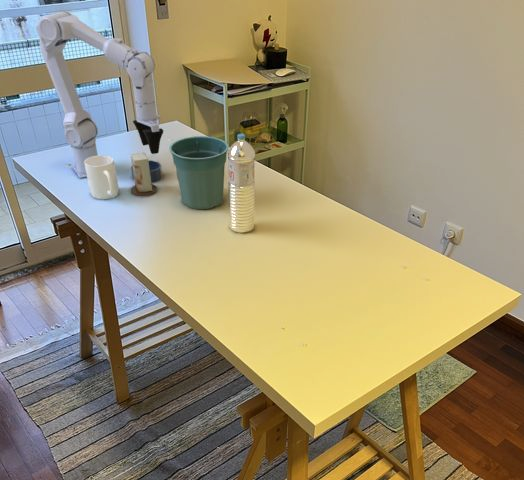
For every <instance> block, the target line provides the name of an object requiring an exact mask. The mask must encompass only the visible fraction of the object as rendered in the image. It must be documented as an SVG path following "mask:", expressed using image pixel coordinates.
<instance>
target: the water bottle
mask: <svg viewBox="0 0 524 480" xmlns="http://www.w3.org/2000/svg"><path fill="white" fill-rule="evenodd" d="M236 139H237V140H236V141H235V142H234V143H233V144H232V145H230V146H229V148H228V151H227V160H228V161H227V162H228V183H227V184H228V207H229V208H228V217H229V218H228V219H229V227H230V230H232V231H233V232H235V233H239V234H241V233H242V234H243V233H244V234H245V233H248V232H252V231H253V230H254V228H255V223H256V222H255V220H256V219H255V213H256V212H255V211H256V210H255V209H256V208H255V206H256V205H255V204H256V203H255V199H256V197H255V196H256V190H255V188H256V182H255V158H256V150H255V149H254V147H253V146H252V145H251V144H250V143H249V142H248V141H246V135H245V133H238V134H237V137H236Z"/></svg>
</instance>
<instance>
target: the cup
mask: <svg viewBox="0 0 524 480" xmlns="http://www.w3.org/2000/svg"><path fill="white" fill-rule="evenodd" d="M84 163H85V168H86V173H87V177H86V178H87V183H88V188H89V192H90V195H91V196H92V198H93V199H96V200H111V199H113V198H115V197H117V196H118V195H119V190H120V189H119V184H118V177H117V172H116V166H115V159H114V158H113V157H112V156H109V155H103V154H102V155H101V154H100V155H99V154H98V156H93V157H89V158H87V159H86V160H85V161H84Z"/></svg>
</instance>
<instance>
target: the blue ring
mask: <svg viewBox="0 0 524 480" xmlns="http://www.w3.org/2000/svg"><path fill="white" fill-rule="evenodd" d="M148 161H149V169H150V177H151V183H154V182H158V181H160V180H161V179H162V178H163V167H162V164H161V163H160V162H159V161H156V160H149V159H148ZM130 170H131V177H132V179H133V180H134V173H133V166H132V165H131V167H130Z"/></svg>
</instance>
